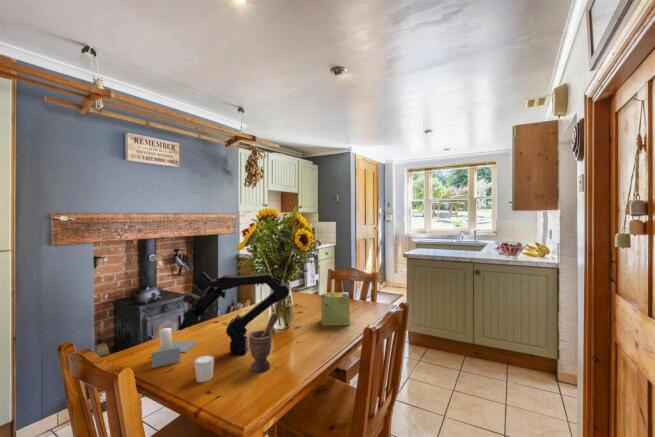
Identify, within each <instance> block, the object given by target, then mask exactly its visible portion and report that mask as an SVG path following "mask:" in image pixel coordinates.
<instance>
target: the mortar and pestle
mask: <svg viewBox="0 0 655 437" xmlns="http://www.w3.org/2000/svg"><path fill="white" fill-rule="evenodd" d="M278 319H279V315H277V314H276V313H273V314H271V316H270V318H269V320H268V323H267V326H266V327H265V330H258V331H257V330H256V331H254V332H251V333H249V334H248V337H249V338H248V339H249V340H248V341H249V350H250V354H251V356H252V358H253V359H254V361H252V363H251V364H250V371H253V372H257V373H261V372H265V371H267V370H269V369H270V368H271V364H270V360H268V359H267V358H268V356H269V355H270V353H271V350H272V337H273V334H272V332H271V330H272V329H273V327H274V326H275V324H276V323H277V321H278Z"/></svg>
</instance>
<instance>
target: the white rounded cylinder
mask: <svg viewBox="0 0 655 437" xmlns="http://www.w3.org/2000/svg"><path fill="white" fill-rule="evenodd" d="M172 330H173V329H172V327H163V328H161V329H159V330H158V332H159V333H158V334H159V350H164V349H169V348H172V342H173V335H172Z"/></svg>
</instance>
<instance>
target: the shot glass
mask: <svg viewBox="0 0 655 437" xmlns="http://www.w3.org/2000/svg"><path fill="white" fill-rule="evenodd" d="M193 362H194V370H195V371H194V372H195V379H196V382H198V383H205V382H208V381H210V380H211V379H213V377H214V365H215V364H214V363H215V357H214V356H213V355H203V356H198V357H197V358H196V359H194V361H193Z"/></svg>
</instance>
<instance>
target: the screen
mask: <svg viewBox="0 0 655 437" xmlns="http://www.w3.org/2000/svg"><path fill="white" fill-rule="evenodd" d="M180 362H181V353H180V346H179V347H174V348H169V349H164V350H160V349H159V350H154V351H151V368H152V369H154V368H158V367H163V366H168V365H173V364H176V363H180Z"/></svg>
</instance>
